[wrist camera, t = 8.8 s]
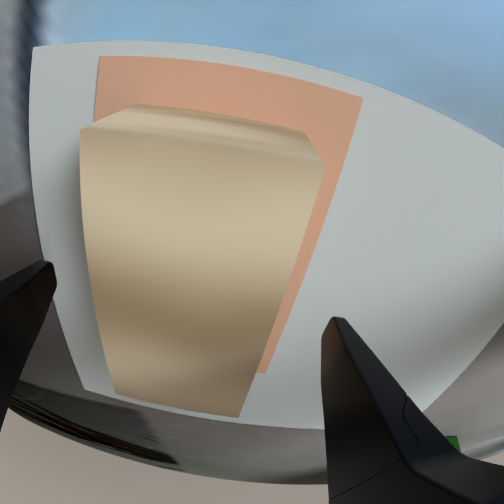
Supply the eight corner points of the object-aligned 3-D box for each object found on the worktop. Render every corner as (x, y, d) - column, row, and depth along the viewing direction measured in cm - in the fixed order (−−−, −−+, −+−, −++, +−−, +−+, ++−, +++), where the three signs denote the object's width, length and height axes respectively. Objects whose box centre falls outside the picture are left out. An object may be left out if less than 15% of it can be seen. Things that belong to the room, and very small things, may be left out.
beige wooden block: (242, 351, 14) (238, 417, 11) (136, 331, 14) (115, 393, 11) (303, 130, 9) (325, 166, 6) (138, 103, 8) (80, 128, 5)
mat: (569, 196, 9) (574, 201, 9) (405, 422, 20) (406, 427, 20) (39, 46, 7) (31, 47, 7) (86, 384, 18) (83, 390, 18)
